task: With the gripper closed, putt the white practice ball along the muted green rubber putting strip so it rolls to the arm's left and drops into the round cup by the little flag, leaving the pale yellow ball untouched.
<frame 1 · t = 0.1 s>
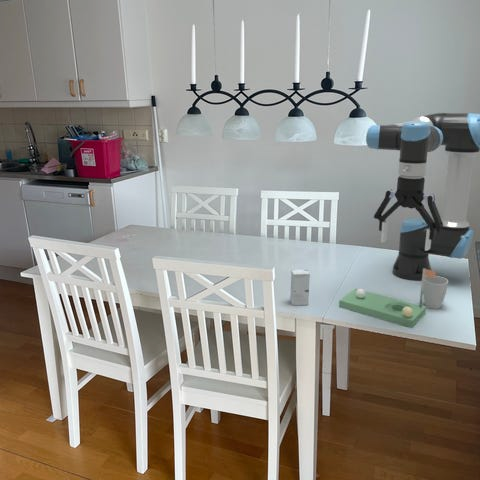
hand: (404, 245, 148), 28 cm above the table, fingers open, 13 cm apart
ball: (360, 293, 172), point 4 cm above the table, touching green
cup: (432, 306, 172), on the table
flag: (419, 313, 166), resting on green
skincare box: (299, 303, 176), on the table
yellow ball: (407, 311, 158), point 4 cm above the table, touching green
green: (381, 310, 169), on the table
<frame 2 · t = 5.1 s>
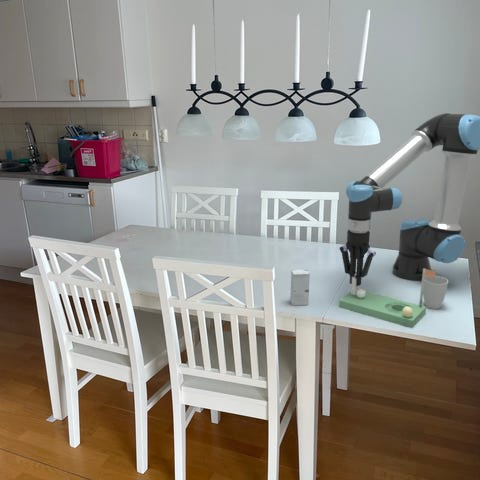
hand: (354, 293, 174), 4 cm above the table, fingers closed
ball: (360, 293, 172), point 4 cm above the table, touching green, gripper
everything else where it was.
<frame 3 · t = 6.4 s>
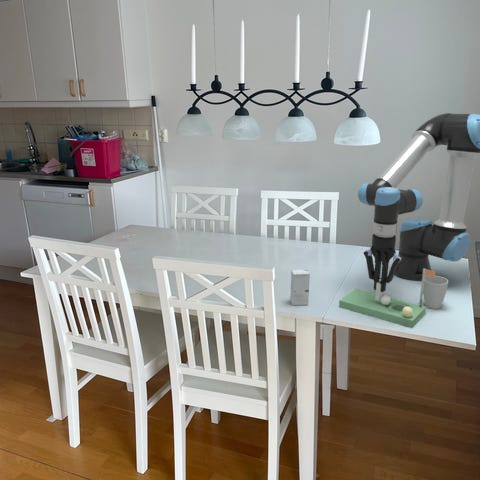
hand: (378, 299, 168), 4 cm above the table, fingers closed
ball: (385, 300, 167), point 4 cm above the table, tilted 96°, touching green, gripper
everything else where it was.
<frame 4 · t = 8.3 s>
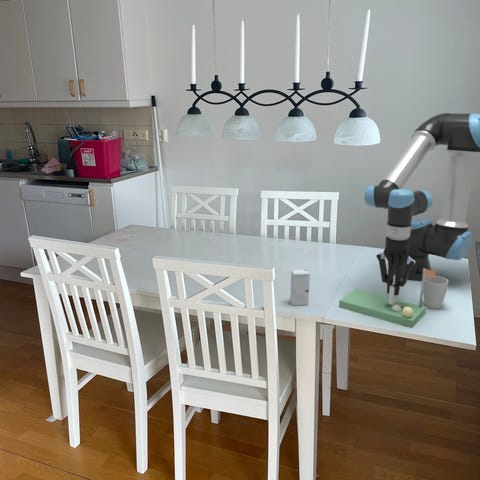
hand: (392, 302, 166), 4 cm above the table, fingers closed
ball: (396, 309, 165), point 2 cm above the table, tilted 66°
everything else where it was.
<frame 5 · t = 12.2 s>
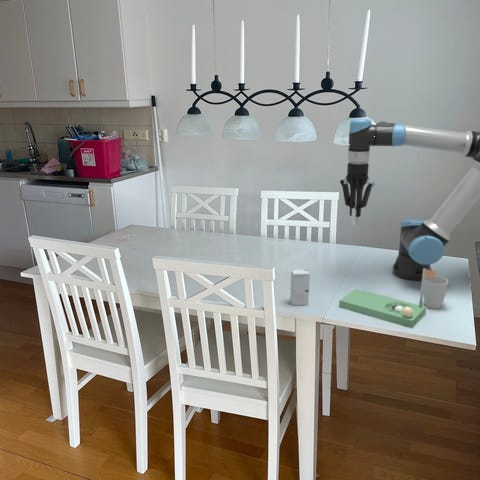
hand: (354, 224, 184), 24 cm above the table, fingers closed
ball: (399, 310, 165), point 2 cm above the table, tilted 102°
everything else where it was.
at the end: ball 0.3 cm from the target spot in the green, point 1.7 cm above the green's base; yellow ball moved 0.1 cm from its start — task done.
